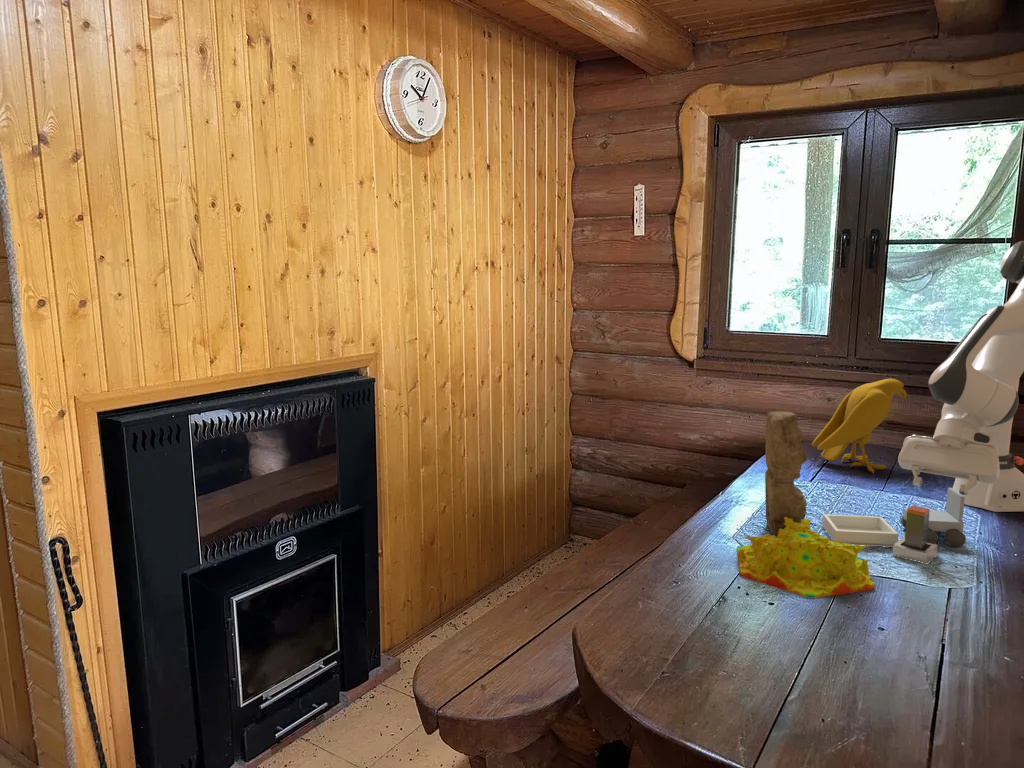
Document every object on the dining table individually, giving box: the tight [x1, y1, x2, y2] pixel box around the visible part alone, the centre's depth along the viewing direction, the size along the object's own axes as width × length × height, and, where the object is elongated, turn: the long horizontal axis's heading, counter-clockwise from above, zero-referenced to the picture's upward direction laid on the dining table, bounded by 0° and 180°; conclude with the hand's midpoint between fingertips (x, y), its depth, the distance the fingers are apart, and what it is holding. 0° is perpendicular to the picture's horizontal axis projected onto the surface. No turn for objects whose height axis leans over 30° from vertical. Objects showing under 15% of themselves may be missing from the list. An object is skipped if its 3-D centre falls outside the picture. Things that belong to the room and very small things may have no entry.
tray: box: [821, 513, 899, 548], centre depth 169 cm, size 14×12×3 cm
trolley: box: [900, 487, 967, 548], centre depth 167 cm, size 10×11×12 cm
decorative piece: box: [736, 517, 876, 599], centre depth 152 cm, size 26×8×30 cm
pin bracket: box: [891, 536, 939, 564], centre depth 158 cm, size 7×7×2 cm
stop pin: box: [904, 504, 931, 551], centre depth 157 cm, size 4×4×11 cm
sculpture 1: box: [764, 410, 808, 537], centre depth 171 cm, size 12×9×30 cm
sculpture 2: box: [811, 378, 908, 474], centre depth 229 cm, size 20×27×30 cm
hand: (939, 489), depth 161 cm, fingers open, 8 cm apart
